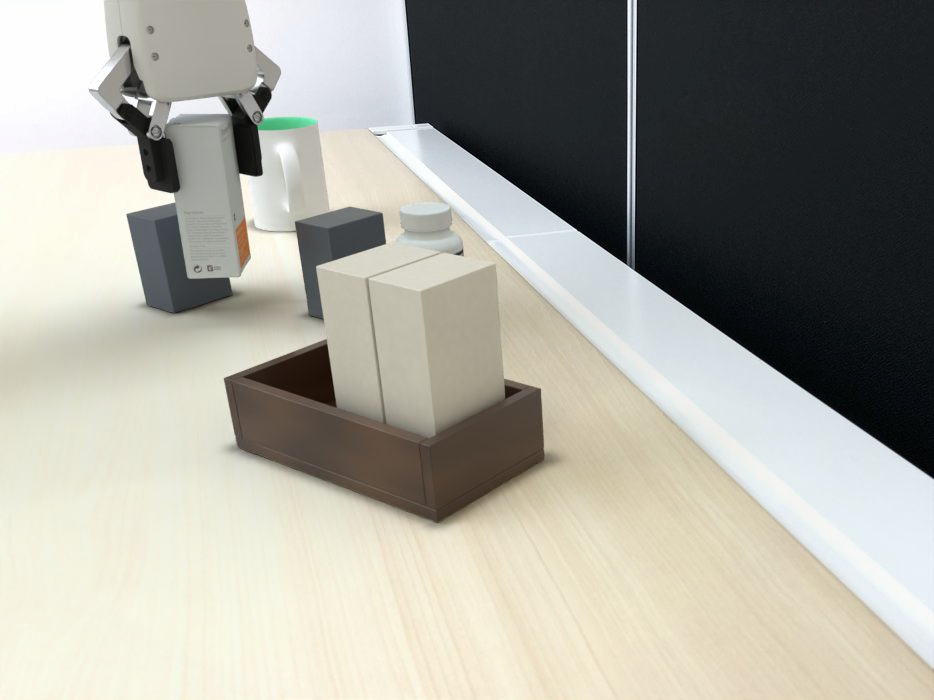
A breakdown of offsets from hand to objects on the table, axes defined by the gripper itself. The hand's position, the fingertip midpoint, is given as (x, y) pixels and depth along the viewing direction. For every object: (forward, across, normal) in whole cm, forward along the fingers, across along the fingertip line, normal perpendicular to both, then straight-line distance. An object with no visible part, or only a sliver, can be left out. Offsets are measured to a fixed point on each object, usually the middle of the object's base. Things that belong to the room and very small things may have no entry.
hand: (207, 180), depth 88 cm
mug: (+11, -23, -19) cm, 32 cm away
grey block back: (+11, -1, -7) cm, 13 cm away
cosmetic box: (+7, 0, 0) cm, 7 cm away
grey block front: (+11, -7, +7) cm, 15 cm away
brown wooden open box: (+11, +11, +30) cm, 34 cm away
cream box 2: (+10, +11, +36) cm, 39 cm away
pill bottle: (+11, -8, +16) cm, 21 cm away
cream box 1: (+10, +11, +32) cm, 35 cm away
